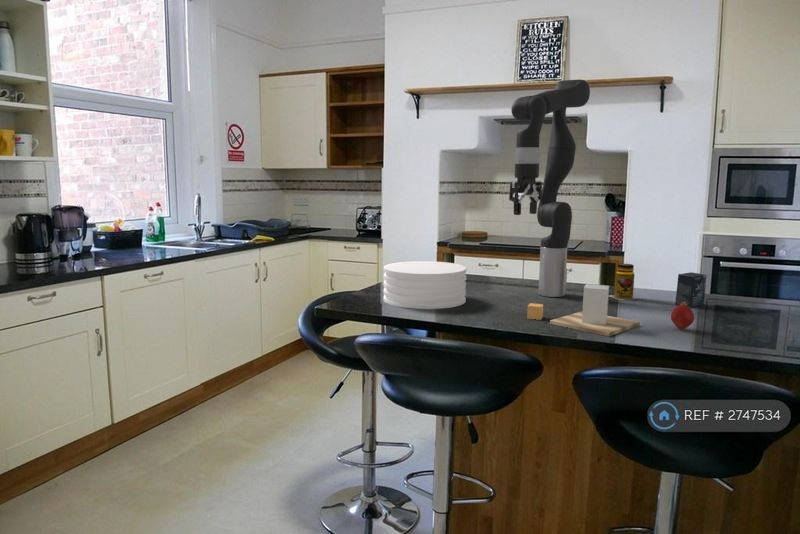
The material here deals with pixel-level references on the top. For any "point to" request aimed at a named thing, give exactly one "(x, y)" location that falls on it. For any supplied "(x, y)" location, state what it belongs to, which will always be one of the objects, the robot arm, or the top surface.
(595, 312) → the light grey rectangular block
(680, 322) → the onion
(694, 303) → the box
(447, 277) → the plate stack
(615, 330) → the board
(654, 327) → the top surface
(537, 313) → the fully visible block
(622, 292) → the condiment
